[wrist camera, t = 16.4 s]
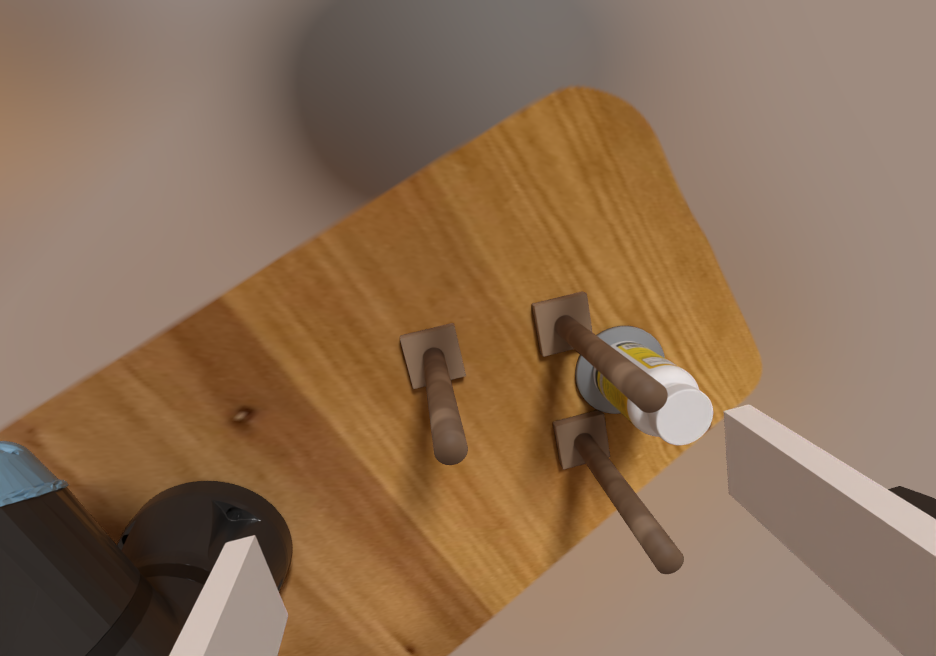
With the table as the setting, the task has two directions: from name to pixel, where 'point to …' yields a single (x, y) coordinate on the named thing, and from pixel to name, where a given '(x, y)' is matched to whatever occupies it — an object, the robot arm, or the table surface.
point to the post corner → (593, 349)
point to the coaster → (586, 369)
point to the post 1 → (438, 386)
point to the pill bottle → (685, 403)
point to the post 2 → (614, 484)
